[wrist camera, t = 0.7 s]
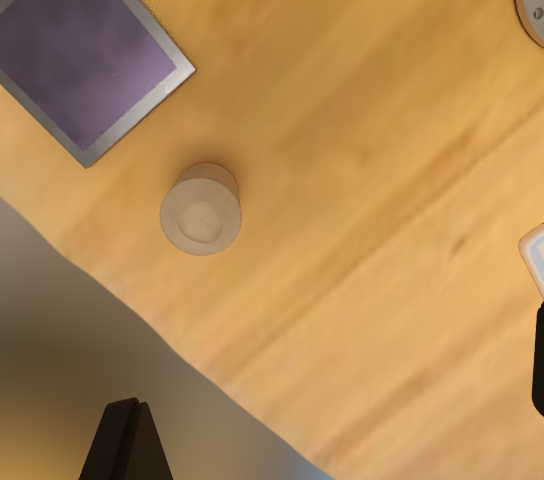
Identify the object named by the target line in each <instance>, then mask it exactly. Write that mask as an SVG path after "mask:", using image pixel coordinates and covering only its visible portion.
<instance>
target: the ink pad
mask: <svg viewBox="0 0 544 480" xmlns="http://www.w3.org/2000/svg"><path fill="white" fill-rule="evenodd" d="M195 72H196V70H195V69H194V67H193V66H192V65H191V64H190V62H189V61H188V60H187V59H186V57H185V56H184V55H183V54H182V52H181V51H180V50H179V49H178V47H177V46H176V45H175V44H174V42H173V41H172V40H171V39H170V37H169V36H168V35H167V34H166V32H165V31H164V30H163V29H162V27H161V26H160V25H159V24H158V22H157V21H156V20H155V19H154V17H153V16H152V15H151V14H150V12H149V11H148V10H147V9H146V8H145V6H144V5H143V4H142V3H141V1H140V0H0V84H1V85H2V86H3V87H4V88H5V89H6V90H7V91H8V92H9V93H10V94H11V95H12V96H13V97H14V98H15V99H16V100H17V101H18V102H19V103H20V104H21V105H22V106H23V107H24V108H25V109H26V110H27V111H28V112H29V113H30V114H31V115H32V116H33V117H34V118H35V119H36V120H37V121H38V122H39V123H40V124H41V125H42V126H43V127H44V128H45V129H46V130H47V131H48V132H49V133H50V134H51V135H52V136H53V137H54V138H55V139H56V140H57V141H58V142H59V143H60V144H61V145H62V146H63V147H64V148H65V149H66V150H67V151H68V152H69V153H70V154H71V155H72V156H73V157H74V158H75V159H76V160H77V161H78V162H79V163H80V164H81V165H82V166H83V167H84V168H85V169H86V168H89V167H91V166H92V165H93V164H94V163H95V162H97V161H98V160H99V159H100V158H101V157H102V156H103V155H104V154H105V153H107V152H108V151H109V150H110V149H111V148H112V147H113V146H114V145H115V144H116V143H118V142H119V141H120V140H121V139H122V138H123V137H124V136H125V135H126V134H128V133H129V132H130V131H131V130H132V129H133V128H134V127H135V126H136V125H138V124H139V123H140V122H141V121H142V120H143V119H144V118H145V117H146V116H148V115H149V114H150V113H151V112H152V111H153V110H154V109H155V108H156V107H158V106H159V105H160V104H161V103H162V102H163V101H164V100H165V99H166V98H168V97H169V96H170V95H171V94H172V93H173V92H174V91H175V90H176V89H177V88H179V87H180V86H181V85H182V84H183V83H184V82H185V81H186V80H187V79H189V78H190V77H191V76H192V75H193V74H194V73H195Z"/></svg>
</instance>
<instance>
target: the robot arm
mask: <svg viewBox="0 0 544 480" xmlns="http://www.w3.org/2000/svg"><path fill="white" fill-rule="evenodd" d="M516 4H517V9H518V13H519V16H520V18H521V21H522V23H523V26H524V27H525V29H526V30H527V32H528V33H529V35H530V36H531V37H532V38H533V39H534V40H535V41H536V42H537V43H538V44H539V45H540V46H542V47H544V0H516ZM532 401H533V404H534V406H535V408H536V409H537V411H538V412H539V413H540V414H541V415H542V416H543V417H544V301H543V303H542V304H541V308H539V309H538V312H537V321H536V337H535V352H534V367H533V383H532ZM79 480H173V478H172V474H171V471H170V468H169V466H168V462H167V460H166V456H165V454H164V451H163V448H162V445H161V442H160V439H159V436H158V433H157V430H156V427H155V424H154V421H153V418H152V415H151V412H150V409H149V406H148V404H147V403H146V402H143V403H139V401H138V399H137V398H135V397H134V398H130V399H125V400H121V401H117V402H113V403H109V404H108V405H107V406H106V408H105V411H104V413H103V416H102V419H101V421H100V424H99V427H98V429H97V432H96V435H95V437H94V440H93V442H92V445H91V448H90V451H89V453H88V456H87V458H86V461H85V464H84V466H83V469H82V472H81V474H80V477H79Z"/></svg>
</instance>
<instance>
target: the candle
mask: <svg viewBox="0 0 544 480" xmlns="http://www.w3.org/2000/svg"><path fill="white" fill-rule="evenodd" d="M160 222H161V227H162V229H163V232H164V234H165V236H166V237H167V238H168V240H169V241H170V242H171V243H172V244H173V245H174V246H175V247H177V248H178V249H180V250H181V251H183V252H186V253H188V254H192V255H198V256H206V255H212V254H216V253H218V252H220V251H222V250H224V249H225V248H227V247H228V246H229V245H230V244H231V243H232V242H233V241H234V240H235V238H236V236H237V235H238V232H239V230H240V226H241V207H240V199H239V191H238V187H237V183H236V181H235V179H234V177H233V176H232V175H231V173H230V172H229V171H227V170H226V169H225V168H223V167H222V166H220V165H217V164H214V163H199V164H195V165H193V166H191V167H189V168H188V169H187V170H185V171H184V173H183V174H182V175H181V176H180V177H179V179H178V180H177V181H176V183H175V184H174V185H173V187H172V188H171V189H170V191H169V192H168V193H167V195H166V196H165V198H164V200H163V202H162V205H161V209H160Z"/></svg>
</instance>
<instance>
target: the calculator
mask: <svg viewBox="0 0 544 480" xmlns="http://www.w3.org/2000/svg"><path fill="white" fill-rule="evenodd" d="M519 251H520V253H521V256H522V258H523V260H524V262H525V263H526V265H527V267H528V269H529V271H530V273H531V275H532V277H533V279H534V281H535V283H536V285H537V287H538V289H539V291H540V293H541V295H542V297H543V299H544V223H542V224H541V225H539V226H538V227H536V228H535V229H533V230H532V231H531V232H529V233H528V234H527V235H525V236H524V237H523V238H522V239H521V241H520V242H519Z"/></svg>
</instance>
